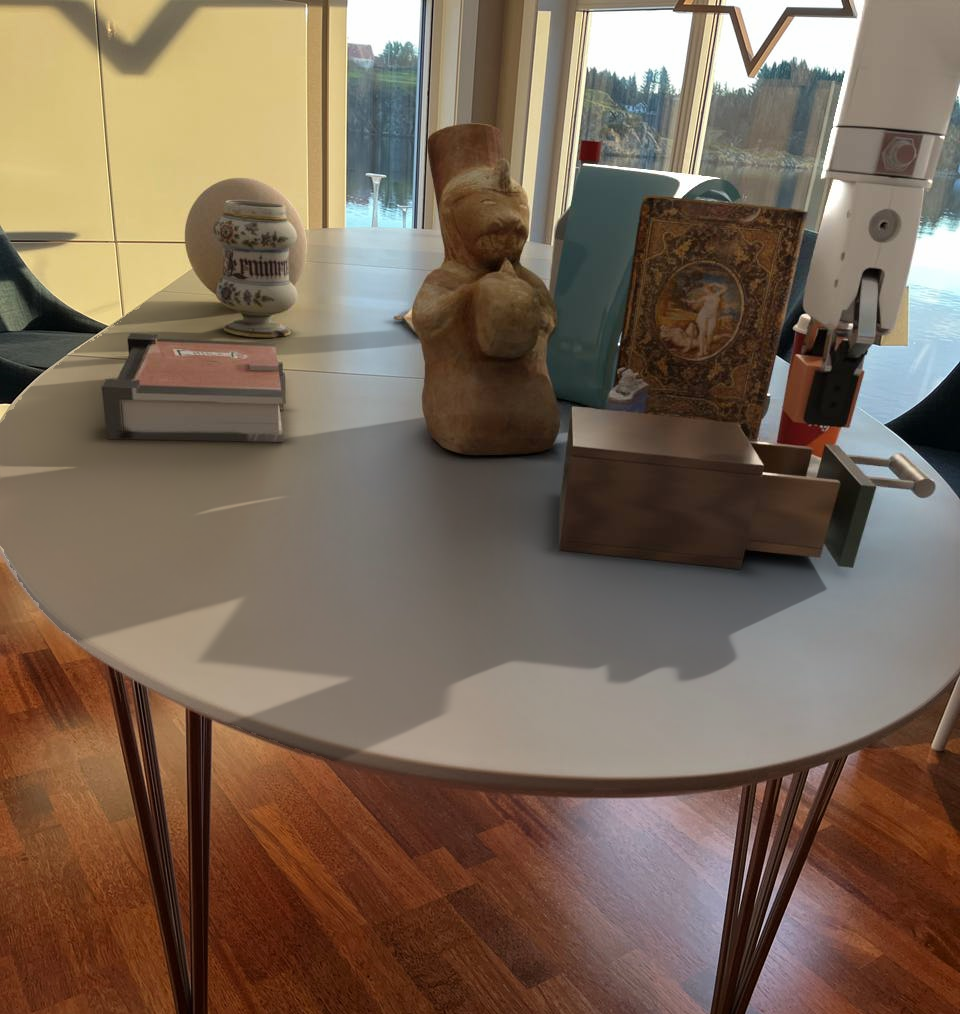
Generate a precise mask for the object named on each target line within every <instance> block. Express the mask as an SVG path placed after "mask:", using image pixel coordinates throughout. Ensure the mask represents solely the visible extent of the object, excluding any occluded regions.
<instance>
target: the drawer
mask: <svg viewBox="0 0 960 1014" xmlns="http://www.w3.org/2000/svg"><path fill="white" fill-rule="evenodd" d="M749 442H750V444H751V445H752V447H753V449H754V450H755V452H756V453H757V455H758V457H759V458H760V460H761V461H762V463H763V465H764V470H763V474H762V479H761V483H760V488H759V492H758V496H757V501H756V505H755V509H754V514H753V518H752V522H751V527H750V531H749V535H748V540H747V544H746V548H745V551H751V552H760V553H761V552H762V553H771V554H772V553H773V554H781V555H789V556H801V557H810V558H819V559H820V558H821V556H822V553H823V549H824V547H825V548H826V550H827V551H828V553H829V554H830V556H831V557H832V559H833V561H835V563H836V565H837V566H838V567H840V568H841V567H842V568H854V565H855V562H856V560H857V559H856V558H857V555H858V552H859V548H860V546H861V541H862V538H863V536H864V535H863V534H864V531H865V528H866V524H867V521H868V517H869V514H870V510H871V507H872V504H873V500H874V496H875V493H876V490H877V487H880V488H890V489H899V490H907V491H908V490H909V491H911V492H912V493H913V494H914V495H915V496H916V497H918V498H920V499H925V498H929V497H931V496H932V495H933V494H934V493H935V491H936V488H937V487H936V486H937V485H936V482H935V481H934V480H933V479H932V478H930V477H931V476H929V475H928V474H926V473H925V471H923V470H922V469H921V468H920V467H919V466H918V465H916V464H915V463H914V462H913V461H912V460H911V459H910V458H909V457H907V455H905V454H904V453H902V452H901V453H899V452H898V453H897V452H896V453H895V454H892V455H891V456H890V457H889V458H885V457H875V456H867V455H857V454H847V453H846V452H845V451H844V450H843V449H842V448H841V446H840V445H837V444H836V445H829V444H825V446H824V450H823V454H822V458H821V462H820V466H819V469H818V473H817V477H816V478H813V477H806V475H807V471H808V467H809V463H810V459H811V455H812V451H813V449H812V448H811V447H806V446H796V445H787V444H777V442H766V441H758V440H757V441H749ZM858 465H864V466H873V467H882V468H888V469H889V470H890V471H891V472H892V474H894V475H895V476H896V477H897V478H889V477H878V476H869V475H868V476H867V475H866V474H865V473H864V471H862V470H861V468H860V467H859V466H858Z"/></svg>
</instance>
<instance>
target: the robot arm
mask: <svg viewBox="0 0 960 1014" xmlns="http://www.w3.org/2000/svg"><path fill="white" fill-rule="evenodd" d="M959 88H960V0H861V1H860V6H859V10H858V15H857V18H856V24H855V28H854V32H853V37H852V41H851V45H850V49H849V53H848V60H847V63H846V68H845V72H844V76H843V80H842V85H841V89H840V94H839V97H838V98H839V99H838V102H837V103H838V104H837V106H836V111H835V115H834V120H833V125H832V127H833V128H832V129H831V132H830V137H829V142H828V146H827V150H826V155H825V159H824V163H823V167H822V172H821V177H820V179H821V180H833V181H832V184H831V188H830V190H829V194H828V197H827V201H826V204H825V206H824V210H823V211H824V212H823V215H822V219H821V222H820V226H819V229H818V234H817V237H816V241H815V245H814V248H813V253H812V257H811V261H810V264H809V268H808V273H807V278H806V282H805V288H804V293H803V299H802V308H803V311H804V312H805V314H808V315H809V316H810V319H811V320H810V323H808V324H809V326H808V327H807V333H806V336H805V339H804V343H803V346H802V355H808V356H818V357H823V358H822V363H821V371H820V370H815V373H814V377H813V381H812V385H811V389H810V394H809V398H808V402H807V406H806V410H805V414H804V421H805V422H806V423H807V424H812V425H822V426H831V427H841V428H845V427H844V426H845V425H846V424H847V420H848V417H849V413H850V409H851V405H852V402H853V398H854V394H855V391H856V387H857V383H858V379H859V376H860V374H861V372H862V370H863V367H864V363H865V357H866V356H867V354H868V352H869V349H870V348H871V347H872V346H873V344H874V342H875V339H876V335H878V336H882V337H886V336H888V335H890V334H892V333H893V332H894V331H895V329H896V327H897V324H898V320H899V316H900V312H901V308H902V304H903V301H904V297H905V292H906V288H907V284H908V279H909V275H910V270H911V266H912V262H913V257H914V252H915V248H916V243H917V239H918V234H919V229H920V222H921V217H922V210H923V202H924V194H925V189H927V190H931V189H932V186H933V181H934V178H935V174H936V171H937V167H938V163H939V159H940V156H941V152H942V150H943V145H944V142H945V139H946V138H945V136H946V134H947V131H948V127H949V125H950V121H951V117H952V113H953V109H954V107H955V102H956V99H957V95H958V91H959ZM849 323H851V324H853V328H852V330H849V329H848V326H849ZM844 339H848V340H844Z"/></svg>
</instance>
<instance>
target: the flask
mask: <svg viewBox="0 0 960 1014" xmlns="http://www.w3.org/2000/svg"><path fill="white" fill-rule="evenodd" d="M625 369H626V368H624V367H623V368H620V369H618V370H617V371H618V372H617V374H619V372H621V371H623V370H625ZM621 374H622V378H621V379H620V381H619V382H618V383H619V385H617V386H615V387H614V388H612V390H611V391H610V392H609V394H608V397H607V403H606V410H614V411H624V412H634V413H644V410H645V404H646V398H647V394H648V388H649V384H647V383H645V382H643V379H639V380H637V379H634V378H635V377H636V376H637V375H638V374H639V373H638V372H637V373H634V374H633V372H632V370H631V369H628V370H626V371H624V372H622V373H621Z"/></svg>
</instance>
